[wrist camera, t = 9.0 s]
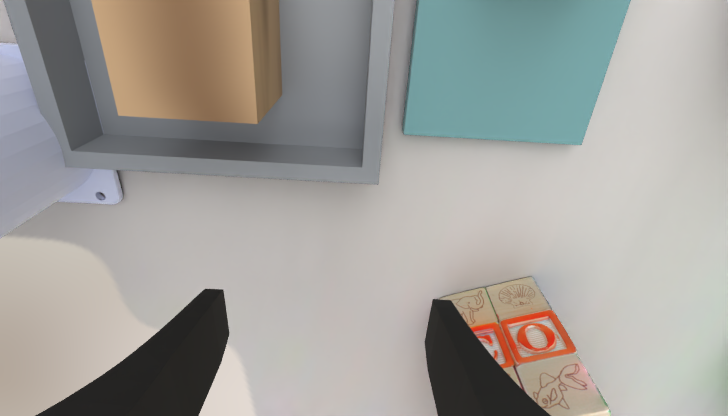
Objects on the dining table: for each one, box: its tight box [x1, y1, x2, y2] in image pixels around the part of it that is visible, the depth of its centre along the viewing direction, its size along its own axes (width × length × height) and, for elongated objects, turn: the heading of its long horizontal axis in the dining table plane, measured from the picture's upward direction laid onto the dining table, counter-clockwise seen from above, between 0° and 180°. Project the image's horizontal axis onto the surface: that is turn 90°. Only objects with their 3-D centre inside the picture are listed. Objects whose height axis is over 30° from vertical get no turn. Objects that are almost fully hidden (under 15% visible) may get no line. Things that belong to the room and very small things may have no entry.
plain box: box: [91, 0, 282, 124], centre depth 15 cm, size 5×5×5 cm
